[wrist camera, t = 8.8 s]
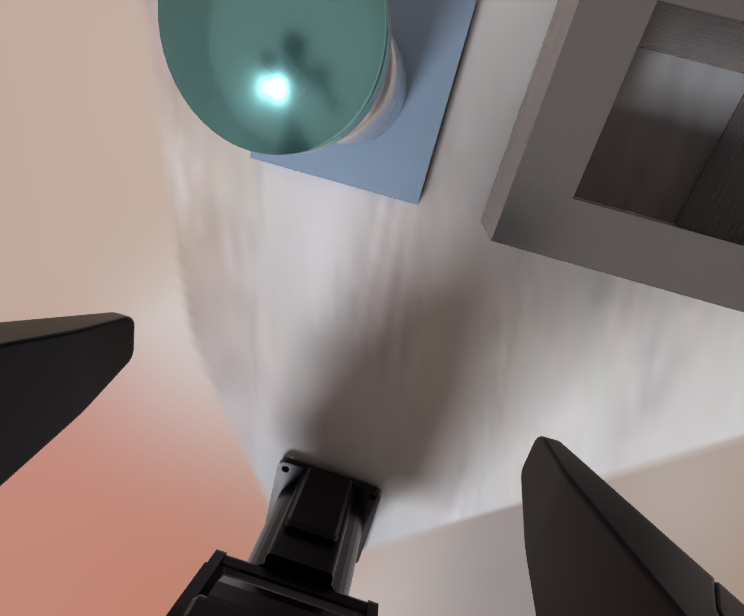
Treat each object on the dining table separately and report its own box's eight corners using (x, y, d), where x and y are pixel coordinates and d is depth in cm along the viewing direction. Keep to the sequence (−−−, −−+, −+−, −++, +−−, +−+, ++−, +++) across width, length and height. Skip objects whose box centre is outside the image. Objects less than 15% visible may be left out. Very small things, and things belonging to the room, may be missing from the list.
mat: (418, 203, 20) (417, 204, 19) (255, 157, 20) (250, 157, 20) (476, 2, 17) (477, -4, 16) (283, -47, 17) (278, -54, 16)
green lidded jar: (395, 165, 19) (353, 179, 10) (283, 134, 19) (152, 123, 10) (430, 30, 17) (415, -92, 8) (305, -3, 17) (164, -153, 8)
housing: (697, 282, 19) (769, 319, 15) (481, 220, 19) (491, 240, 15) (847, 26, 15) (999, -21, 11) (573, -41, 16) (619, -109, 12)
